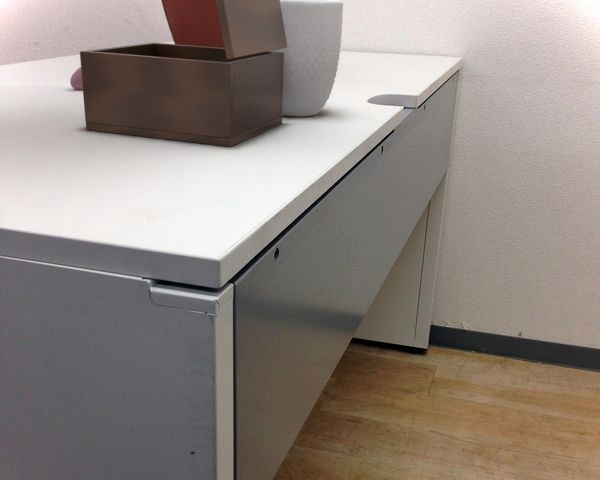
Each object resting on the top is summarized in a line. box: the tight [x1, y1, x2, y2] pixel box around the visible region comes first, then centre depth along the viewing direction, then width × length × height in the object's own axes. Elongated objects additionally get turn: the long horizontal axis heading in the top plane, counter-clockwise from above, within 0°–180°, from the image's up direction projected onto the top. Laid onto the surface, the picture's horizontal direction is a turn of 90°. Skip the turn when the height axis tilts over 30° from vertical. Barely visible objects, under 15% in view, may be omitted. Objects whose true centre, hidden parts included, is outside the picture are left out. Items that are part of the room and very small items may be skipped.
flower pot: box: [161, 0, 225, 48], centre depth 126 cm, size 19×19×17 cm
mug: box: [271, 0, 344, 117], centre depth 89 cm, size 15×11×13 cm
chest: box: [79, 42, 284, 148], centre depth 78 cm, size 17×14×8 cm
